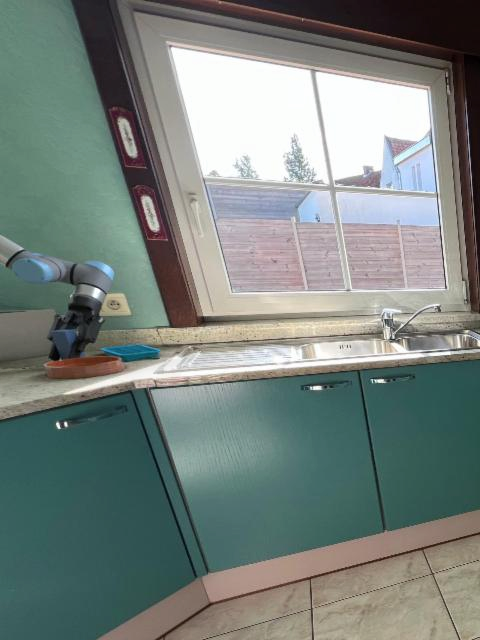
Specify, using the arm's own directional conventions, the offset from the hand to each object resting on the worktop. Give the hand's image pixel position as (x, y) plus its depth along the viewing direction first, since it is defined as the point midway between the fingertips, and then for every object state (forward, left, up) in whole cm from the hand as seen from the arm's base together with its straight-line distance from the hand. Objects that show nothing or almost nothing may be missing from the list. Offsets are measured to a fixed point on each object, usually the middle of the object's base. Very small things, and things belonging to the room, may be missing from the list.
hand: (62, 359), depth 157 cm
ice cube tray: (+15, +14, -3) cm, 21 cm away
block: (+2, +3, -3) cm, 5 cm away
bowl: (+7, -11, -3) cm, 13 cm away
